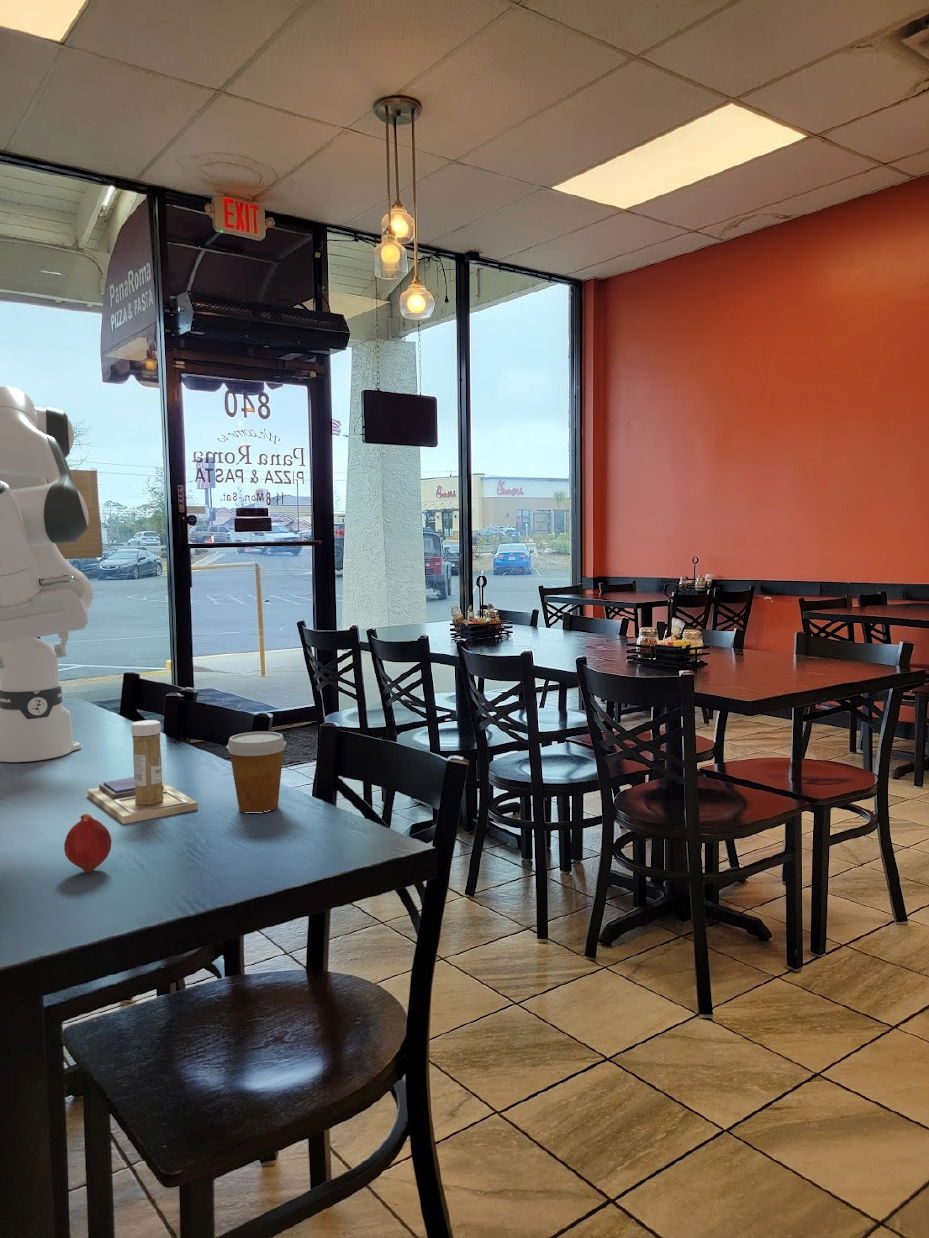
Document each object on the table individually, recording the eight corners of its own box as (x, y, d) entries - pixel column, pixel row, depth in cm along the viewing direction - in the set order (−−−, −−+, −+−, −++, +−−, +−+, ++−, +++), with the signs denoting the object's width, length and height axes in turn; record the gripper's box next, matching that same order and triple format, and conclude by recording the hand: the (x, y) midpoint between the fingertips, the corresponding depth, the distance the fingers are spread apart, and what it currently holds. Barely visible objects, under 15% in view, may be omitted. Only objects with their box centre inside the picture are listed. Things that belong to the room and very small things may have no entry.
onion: (78, 863, 123) (75, 806, 122) (119, 863, 123) (117, 806, 122) (57, 879, 117) (54, 819, 117) (101, 879, 117) (98, 819, 116)
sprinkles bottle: (166, 803, 147) (163, 722, 146) (138, 807, 145) (134, 725, 144) (159, 796, 151) (156, 718, 150) (131, 801, 149) (128, 721, 147)
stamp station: (87, 796, 156) (86, 782, 156) (156, 784, 163) (155, 771, 163) (123, 823, 140) (122, 809, 140) (197, 809, 148) (197, 795, 147)
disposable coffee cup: (216, 814, 145) (214, 741, 144) (250, 798, 154) (248, 729, 153) (267, 819, 142) (265, 745, 141) (298, 803, 151) (296, 733, 150)
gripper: (79, 566, 148) (98, 641, 154) (-58, 588, 142) (-33, 666, 148) (78, 579, 143) (97, 656, 148) (-65, 602, 137) (-39, 682, 142)
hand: (31, 661), depth 148 cm, fingers open, 8 cm apart
